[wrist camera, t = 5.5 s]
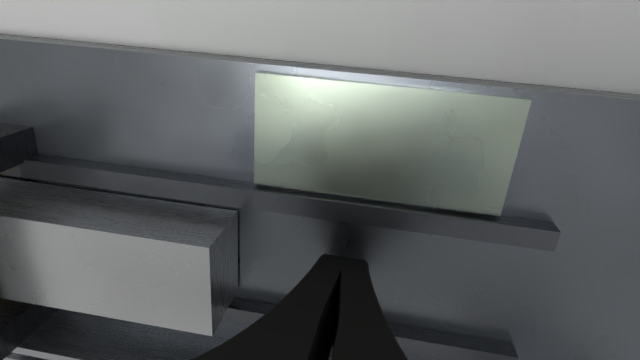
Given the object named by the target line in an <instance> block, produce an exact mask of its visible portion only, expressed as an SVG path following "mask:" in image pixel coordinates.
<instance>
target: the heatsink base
mask: <svg viewBox="0 0 640 360" xmlns="http://www.w3.org/2000/svg"><path fill="white" fill-rule="evenodd" d="M0 177H1V178H8V179H15V180H22V181H30V182H37V183H44V184H51V185H58V186H65V187H72V188H79V189H86V190H93V191H100V192H107V193H114V194H121V195H128V196H135V197H142V198H150V199H157V200H164V201H171V202H178V203H185V204H192V205H199V206H206V207H213V208H220V209H227V210H234V211H238V291H237V293H236V295H235V296H234V298H233V300H232V302H231V304H230V305H229V307H228V309H227V311H226V313H225V314H224V316H223V318H222V320H221V322H220V324H219V325H218V327H217V329H216V331H215V333H214V334H213V336H208V335H202V334H197V333H191V332H186V331H180V330H175V329H169V328H164V327H158V326H153V325H147V324H141V323H136V322H130V321H125V320H119V319H114V318H108V317H103V316H97V315H92V314H86V313H81V312H75V311H70V310H64V309H58V308H53V307H47V306H42V305H36V304H31V303H25V302H20V301H14V300H9V299H3V298H0V360H192V359H194V358H196V357H198V356H200V355H202V354H204V353H206V352H208V351H210V350H212V349H213V348H215V347H217V346H219V345H221V344H222V343H224V342H226V341H227V340H229V339H231V338H232V337H234V336H235V335H237V334H238V333H240V332H241V331H243V330H244V329H246V328H247V327H249V326H250V325H251V324H253V323H254V322H255V321H257V320H258V319H259V318H261V317H262V316H263V315H265V314H266V313H267V312H268V311H269V310H271V309H272V308H273V307H274V306H275V305H276V304H277V303H278V302H279V301H281V300H282V299H283V298H284V297H285V296H286V295H287V294H288V293H289V292H290V291H291V290H292V289H293V288H294V287H295V286H296V285H297V284H298V283H299V282H300V281H301V280H302V278H303V277H304V276H305V275H306V274H307V273H308V272H309V270H310V269H311V268H312V267H313V265H314V264H315V263H316V261H317V260H318V259H319V257H320V256H321V255H323V254H329V255H336V256H342V257H349V258H355V259H362V260H366V262H367V263H368V264H369V273H370V277H371V281H372V284H373V288H374V291H375V294H376V296H377V299H378V302H379V304H380V307H381V309H382V312H383V314H384V316H385V318H386V320H387V323H388V325H389V327H390V329H391V331H392V333H393V335H394V336H395V338H396V340H397V342H398V344H399V345H400V347H401V349H402V350H403V352H404V354H405V355H406V357H407V359H408V360H640V95H637V94H626V93H616V92H605V91H595V90H584V89H574V88H563V87H553V86H542V85H532V84H521V83H511V82H500V81H490V80H479V79H469V78H458V77H448V76H437V75H427V74H416V73H406V72H395V71H384V70H374V69H363V68H353V67H342V66H332V65H321V64H311V63H300V62H290V61H279V60H269V59H258V58H248V57H237V56H227V55H216V54H206V53H195V52H185V51H174V50H164V49H153V48H143V47H132V46H122V45H111V44H101V43H90V42H80V41H69V40H59V39H48V38H38V37H27V36H17V35H6V34H0ZM332 349H333V345H332ZM332 349H331V353H330V356H329V360H332Z"/></svg>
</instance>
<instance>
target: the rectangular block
mask: <svg viewBox="0 0 640 360" xmlns="http://www.w3.org/2000/svg"><path fill="white" fill-rule="evenodd" d="M237 291H238V211H234V210H227V209H220V208H213V207H206V206H199V205H192V204H185V203H178V202H171V201H164V200H157V199H150V198H142V197H135V196H128V195H121V194H114V193H107V192H100V191H93V190H86V189H79V188H72V187H65V186H58V185H51V184H44V183H37V182H30V181H22V180H15V179H8V178H1V177H0V298H3V299H9V300H14V301H20V302H25V303H31V304H36V305H42V306H47V307H53V308H58V309H64V310H70V311H75V312H81V313H86V314H92V315H97V316H103V317H108V318H114V319H119V320H125V321H130V322H136V323H141V324H147V325H153V326H158V327H164V328H169V329H175V330H180V331H186V332H191V333H197V334H202V335H208V336H213V334H214V333H215V331H216V329H217V327H218V325H219V324H220V322H221V320H222V318H223V316H224V314H225V313H226V311H227V309H228V307H229V305H230V304H231V302H232V300H233V298H234V296H235V295H236V293H237Z"/></svg>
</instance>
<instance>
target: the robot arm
mask: <svg viewBox="0 0 640 360" xmlns="http://www.w3.org/2000/svg"><path fill="white" fill-rule="evenodd" d="M332 345H333V349H332ZM331 349H332V360H408V359H407V357H406V355H405V354H404V352H403V350H402V349H401V347H400V345H399V344H398V342H397V340H396V338H395V336H394V335H393V333H392V331H391V329H390V327H389V325H388V323H387V320H386V318H385V316H384V314H383V312H382V309H381V307H380V304H379V302H378V299H377V296H376V294H375V291H374V288H373V284H372V281H371V277H370V273H369V264H368V263H367V262H366V260H362V259H355V258H349V257H342V256H336V255H329V254H323V255H321V256H320V257H319V259H318V260H317V261H316V263H315V264H314V265H313V267H312V268H311V269H310V270H309V272H308V273H307V274H306V275H305V276H304V277H303V278H302V280H301V281H300V282H299V283H298V284H297V285H296V286H295V287H294V288H293V289H292V290H291V291H290V292H289V293H288V294H287V295H286V296H285V297H284V298H283V299H282V300H281V301H279V302H278V303H277V304H276V305H275V306H274V307H273V308H272V309H271V310H269V311H268V312H267V313H266V314H265V315H263V316H262V317H261V318H259V319H258V320H257V321H255V322H254V323H253V324H251V325H250V326H249V327H247V328H246V329H244V330H243V331H241V332H240V333H238V334H237V335H235V336H234V337H232V338H231V339H229V340H227V341H226V342H224V343H222V344H221V345H219V346H217V347H215V348H213V349H212V350H210V351H208V352H206V353H204V354H202V355H200V356H198V357H196V358H194V359H192V360H329V356H330V353H331Z"/></svg>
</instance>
